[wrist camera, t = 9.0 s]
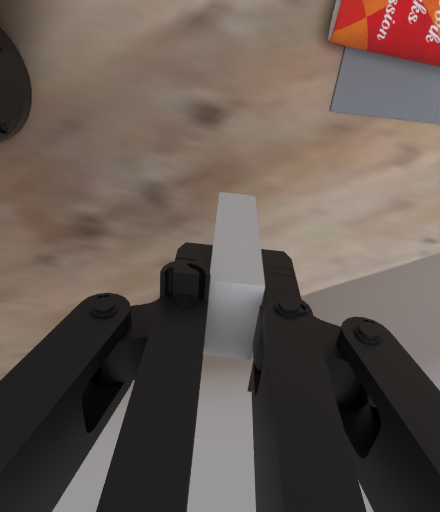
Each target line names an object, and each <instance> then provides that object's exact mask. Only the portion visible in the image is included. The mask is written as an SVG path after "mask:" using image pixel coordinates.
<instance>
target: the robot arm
mask: <svg viewBox="0 0 440 512" xmlns="http://www.w3.org/2000/svg"><path fill="white" fill-rule="evenodd" d="M30 105H31V87H30V81H29V77H28V73H27V70H26V67H25V64H24V62H23V60H22V58H21V56H20V54H19V52H18V50H17V49H16V47H15V46H14V44H13V43H12V41H11V40H10V39H9V37H8V36H7V35H6V34H5V33H4V31H3V30H2V29H1V28H0V142H1V141H4V140H6V139H8V138H10V137H12V136H13V135H14V134H16V133H17V132H18V131H19V130H20V129H21V127H22V126H23V125H24V123H25V121H26V119H27V117H28V114H29V110H30ZM252 352H253V358H254V361H253V366H252V372H251V376H250V382H249V387H248V391H250V392H251V391H252V411H253V412H252V413H253V437H254V438H253V439H254V466H255V491H256V492H255V494H256V512H366V508H365V504H364V501H363V497H362V493H361V490H360V486H359V483H360V485H361V486H362V489H363V491H364V493H365V495H366V497H367V499H368V501H369V503H370V505H371V507H372V509H373V511H374V512H440V391H439V389H438V388H437V387H436V386H435V385H434V384H433V382H432V381H431V380H430V379H429V377H428V376H427V375H426V374H425V373H424V372H423V371H422V369H421V368H420V367H419V366H418V364H417V363H416V362H415V361H414V360H413V359H412V357H411V356H410V355H409V354H408V353H407V351H406V350H405V349H404V348H403V347H402V345H401V344H400V343H399V342H398V341H397V339H396V338H395V337H394V336H393V335H392V334H391V332H390V331H388V330H387V329H386V328H385V327H384V326H383V325H381V324H379V323H377V322H376V321H374V320H371V319H367V318H364V317H352V318H348V319H346V320H345V321H344V322H343V323H342V326H341V327H340V326H337V325H334V324H331V323H327V322H325V321H322V320H320V319H318V318H316V317H314V316H313V313H312V310H311V308H310V307H309V305H308V304H307V303H305V302H304V301H303V300H301V296H300V292H299V288H298V284H297V280H296V277H295V272H294V267H293V263H292V260H291V258H290V257H289V256H288V255H287V254H286V253H285V252H283V251H274V250H264V249H261V245H260V236H259V227H258V218H257V209H256V200H255V196H252V195H243V194H233V193H224V192H219V200H218V208H217V217H216V225H215V233H214V242H213V245H205V244H196V243H185V244H183V245H182V246H181V247H180V248H179V249H178V251H177V254H176V259H175V261H174V262H170V263H169V264H167V265H165V266H164V267H163V268H162V270H161V271H160V298H159V299H158V300H156V301H154V302H151V303H148V304H143V305H135V306H130V303H129V301H128V300H127V299H126V298H125V297H123V296H120V295H118V294H112V293H102V294H96V295H93V296H90V297H88V298H87V299H85V300H84V301H82V302H81V303H80V304H79V305H78V306H77V307H76V308H75V309H74V310H73V311H72V312H71V313H70V314H68V315H67V316H66V317H65V318H64V319H63V320H62V321H61V322H60V323H59V324H58V325H57V326H56V327H55V328H54V329H53V330H52V331H51V332H50V333H49V334H48V335H47V336H46V337H45V338H44V339H43V340H42V341H41V342H40V343H39V344H38V345H37V346H36V347H34V348H33V349H32V350H31V351H30V352H29V353H28V354H27V355H26V356H25V357H24V358H23V359H22V360H21V361H20V362H19V363H18V364H17V365H16V366H15V367H14V368H13V369H12V370H11V371H10V372H9V373H8V374H7V375H6V376H5V377H4V378H3V379H2V380H0V512H52V511H53V509H54V507H55V506H56V504H57V502H58V501H59V499H60V498H61V496H62V495H63V493H64V491H65V490H66V488H67V486H68V485H69V483H70V482H71V480H72V479H73V477H74V475H75V474H76V472H77V471H78V469H79V467H80V466H81V464H82V463H83V461H84V459H85V458H86V456H87V455H88V453H89V451H90V450H91V448H92V447H93V445H94V443H95V442H96V440H97V438H98V437H99V435H100V434H101V432H102V430H103V429H104V427H105V426H106V424H107V423H108V421H109V419H110V418H111V416H112V415H113V413H114V411H115V410H116V408H117V407H118V405H119V403H120V402H121V400H122V398H123V397H124V395H125V394H126V392H127V391H128V389H129V387H130V386H131V383H132V380H135V383H134V386H133V389H132V393H131V396H130V399H129V403H128V406H127V410H126V413H125V417H124V420H123V423H122V426H121V430H120V433H119V436H118V440H117V444H116V447H115V450H114V454H113V457H112V460H111V463H110V467H109V470H108V474H107V477H106V480H105V484H104V487H103V490H102V494H101V497H100V500H99V504H98V507H97V511H96V512H187V504H188V494H189V485H190V475H191V466H192V455H193V447H194V437H195V427H196V418H197V408H198V398H199V390H200V380H201V371H202V360H203V355H210V356H220V357H230V358H241V359H251V357H252ZM358 480H359V482H358Z"/></svg>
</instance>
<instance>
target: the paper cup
mask: <svg viewBox="0 0 440 512" xmlns="http://www.w3.org/2000/svg"><path fill="white" fill-rule="evenodd" d="M328 42H331V43H335V44H339V45H343V46H347V47H351V48H356V49H360V50H365V51H369V52H374V53H378V54H383V55H387V56H392V57H397V58H401V59H406V60H411V61H415V62H420V63H425V64H429V65H434V66H438V67H440V0H336V3H335V7H334V11H333V15H332V20H331V24H330V29H329V35H328Z"/></svg>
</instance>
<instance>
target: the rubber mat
mask: <svg viewBox="0 0 440 512" xmlns="http://www.w3.org/2000/svg"><path fill="white" fill-rule="evenodd" d="M330 111H332V112H340V113H349V114H358V115H366V116H375V117H384V118H392V119H401V120H409V121H418V122H427V123H435V124H440V67H438V66H434V65H429V64H425V63H420V62H415V61H411V60H406V59H401V58H397V57H392V56H387V55H383V54H378V53H374V52H369V51H365V50H360V49H356V48H351V47H347V46H345V48H344V52H343V56H342V60H341V65H340V69H339V73H338V77H337V81H336V85H335V90H334V94H333V98H332V102H331V106H330Z"/></svg>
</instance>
